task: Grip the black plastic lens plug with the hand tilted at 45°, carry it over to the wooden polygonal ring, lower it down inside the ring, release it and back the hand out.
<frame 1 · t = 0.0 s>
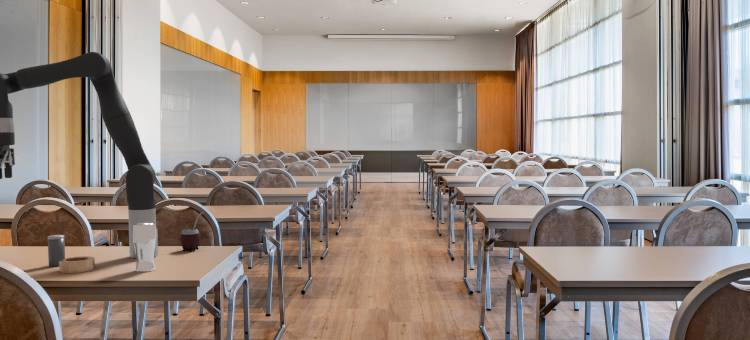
hand: (3, 178, 213), 29 cm above the table, tool pointing down, fingers open, 8 cm apart
wooden polygonal ring: (77, 269, 200), on the table
beer glass: (145, 270, 198), on the table
mate gourd: (191, 250, 235), on the table
lens plug: (57, 265, 208), on the table
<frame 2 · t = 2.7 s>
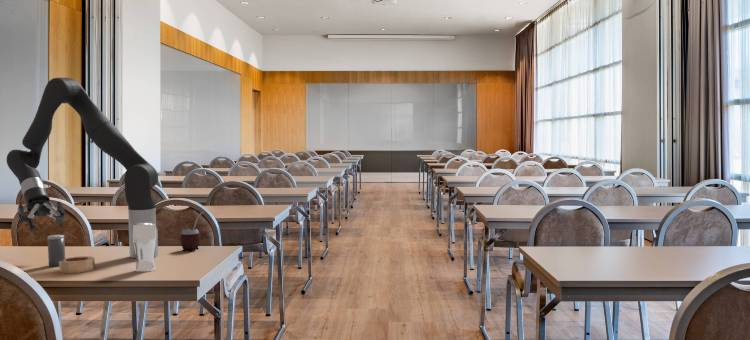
hand: (47, 227, 213), 12 cm above the table, tool tilted 45°, fingers open, 8 cm apart
nothing on the table moved.
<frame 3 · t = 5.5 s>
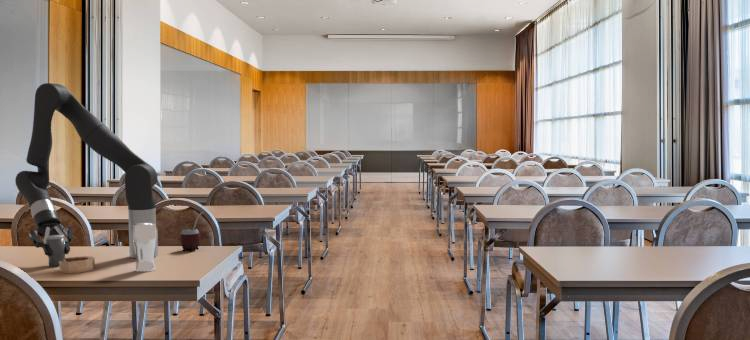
hand: (58, 253, 207), 4 cm above the table, tool tilted 45°, fingers closed on lens plug, 5 cm apart
lens plug: (57, 265, 208), on the table, touching gripper
everything else where it was.
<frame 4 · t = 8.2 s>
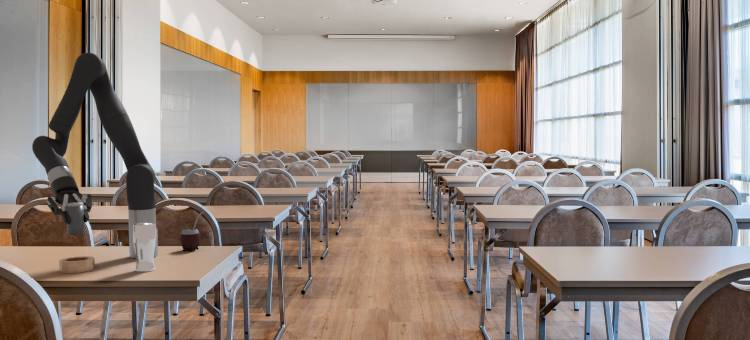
hand: (77, 221, 198), 16 cm above the table, tool tilted 45°, fingers closed on lens plug, 5 cm apart
lens plug: (75, 233, 200), point 12 cm above the table, touching gripper
everything else where it was.
when the fingers open (6 cm above the table, at t = 11.0 s): lens plug drops 1 cm, resting in wooden polygonal ring.
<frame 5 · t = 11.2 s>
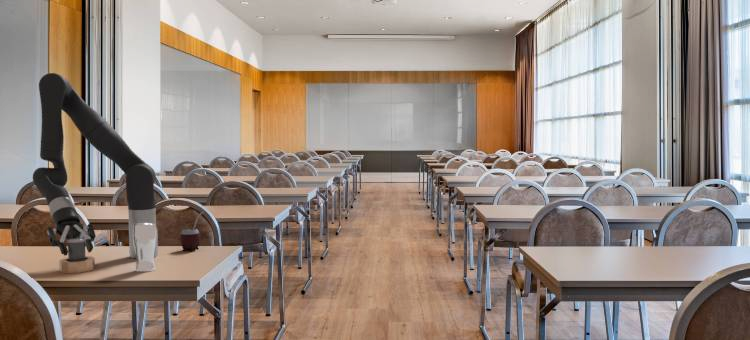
hand: (78, 252, 199), 6 cm above the table, tool tilted 45°, fingers open, 7 cm apart
lens plug: (77, 269, 200), resting in wooden polygonal ring
everything else where it was.
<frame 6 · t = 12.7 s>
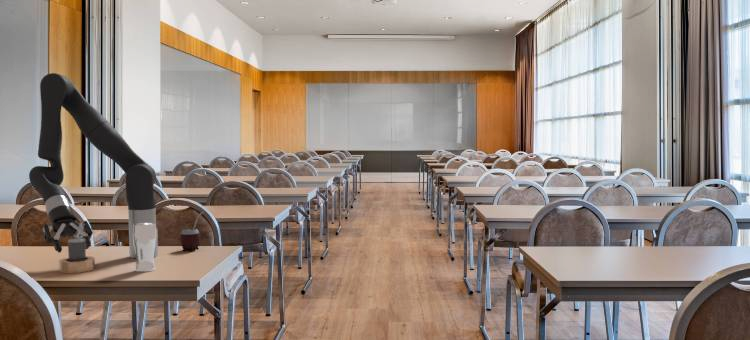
hand: (74, 249, 201), 7 cm above the table, tool tilted 45°, fingers open, 8 cm apart
nothing on the table moved.
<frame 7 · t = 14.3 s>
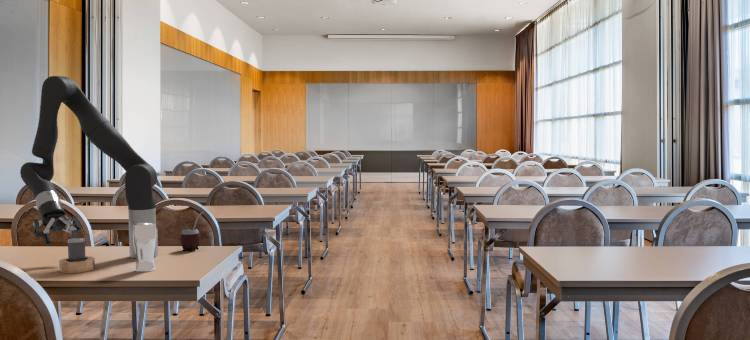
hand: (63, 242, 208), 8 cm above the table, tool tilted 45°, fingers open, 8 cm apart
nothing on the table moved.
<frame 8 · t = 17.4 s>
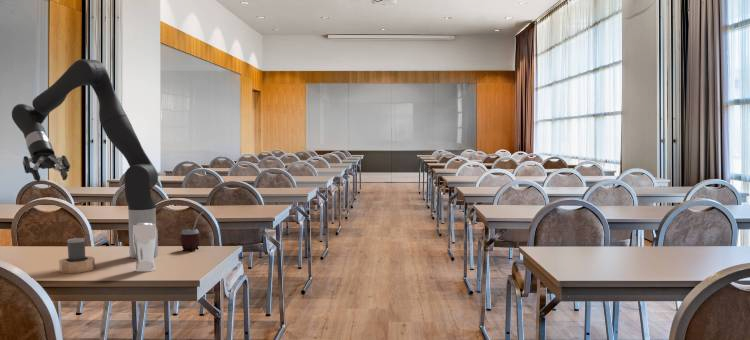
hand: (52, 179, 215), 29 cm above the table, tool tilted 45°, fingers open, 8 cm apart
nothing on the table moved.
at the end: lens plug 0.1 cm off-centre on the wooden polygonal ring, point 0.0 cm above the wooden polygonal ring's base; lens plug tilted 1°; the gripper is holding nothing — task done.
